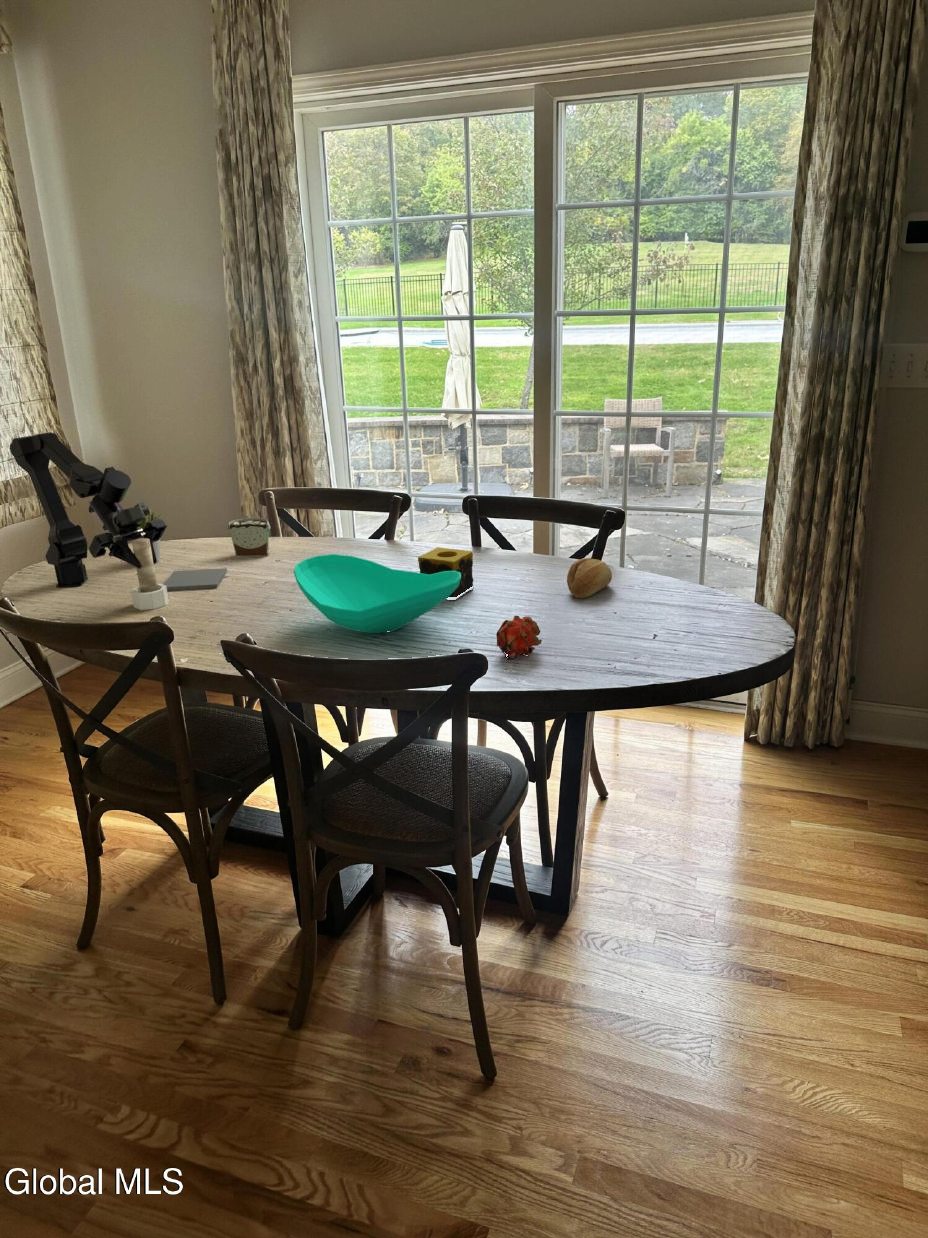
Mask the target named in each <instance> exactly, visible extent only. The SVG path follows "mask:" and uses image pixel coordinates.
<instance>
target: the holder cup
mask: <svg viewBox="0 0 928 1238" xmlns="http://www.w3.org/2000/svg"><path fill="white" fill-rule="evenodd" d="M163 584H164V583H160V582H159V583H157V588H158V590H157V591H154V592H148V593H141V592H140V586H135V587H133V589H132V590H131V591H130V594H131V598H132V600H131V601H132V605H133V608H135V609H137V610H140V611H143V610H146V611H147V610H155V609H159V608H161V607H162V608H163V607H164V606H165V607H166V606H167V605H168V603H169V602H170V601H169V594H168V591H167V587H166V585H163Z"/></svg>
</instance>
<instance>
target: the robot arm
mask: <svg viewBox="0 0 928 1238" xmlns="http://www.w3.org/2000/svg"><path fill="white" fill-rule="evenodd" d="M9 451H10V453H11V455H12V457H13V458H14V460H15V462H16V465H18V467H19V468H21V469H22V470H24V471H25V472H26V473H27V474H28V475H29V476H28V477H29V479H30V480H31V481H30V482H31V483H32V485H33V487H34V490H35V493H36V495H37V497H38V500H39V503H40V505H41V507H42V511H43V512H44V515H45V518H46V519H47V522H48V524H49V525H48V526H49V532H48V535H47V541H48V543H49V547H48V549H47V551H46V554H45V557H44V558H45V559H46V562H47V564H49V565H51V566H53V567H54V568H53V569H54V571H55V576H56V577H55V578H56V582H57V583H56V585H54V586H55V588H64V587H65V588H66V587H68V588H69V587H80V586H82V585H84V584H85V582H87V580H89V576H88V572H87V567H86V564H84V562H83V559H87V558H88V551H89V553H90V555H91V556H92V558H94V559H96V558H100V557H103V556H106V553H107V549H108V550H109V552H108V557H114V558H117V559H119V560H121V561H124V562H125V563H128V564H129V565H131V566H133V567H134V568H136V567H137V568H138V569H140V568H141V567H142V566H141V564H140V562H139V560H138V559H137V558H136V556H135V555H134V552H133V550H132V549H131V548H130V546H129V542H132V541H133V540H136V539H141V538H147V539H150V545H151V551H152V557H153V563H154V565H156V564H158V563H157V559H156V555H155V551H154V547H153V541H157V540H159V539H160V540H161V538H162V536H163V535H164V533H165V531H166V529H167V527H168V524H166V522H165V521H164V520H163V519H159V518H158V519H156V520H153V521H149V522H148V521H146V525H145V527H144V529H141V530H138V529H137V527H139V526H140V524H141V523H140V522H139V521H141V520H143V519H146V520H147V516H149V514H150V511H149V507H148V505H147V504H146V503H145V502H144V501H143V502H138V503H137V504H135V505H134V506H133V507H128V508H123V506H122V505H121V504H120V503H121V502H123V501H124V498H125V496H126V494H127V492H128V491H129V489H130V487H131V484H132V480H131V477H130V476H129V474H126V473H125V472H123V471H122V470H117V469H116V468H115V467H114V466H109V467H105V469H104V471H101V470H99V469H98V468H97V467H96V466H93V465H90V464H86V463H84V462H83V461H81V459H80V458H78V456H76V454H75V453H73V452H72V451H71V450H70V449H69V447H67V446H66V445H65V444H64V443H63V442H62V441H61V440H60V439H59V437H58V435H57V434H56V433H55V432H51V431H50V432H49V431H48V432H43V433H42V432H41V433H37V434H34V435H27V436H21V437H20V436H19V437H15V438H13V439H12V440H11V443H10V444H9ZM50 461H51V462H52V463H53V464H54V465H55V466H56V467H57V469H59V471H61V472H62V473H63V474H64V475H65V476H66V477H67V478H68V480H69V481H68V482H69V487H70V488H71V490H72V491H73V492H74V494H75V495H76V496H77V497H79V498H81V499H85V498H89V497H92V499H91V500H90V501H89V502H88V503H89V505H88V506H89V507H88V513H90V514H91V513H95V514H96V515H97V516H98V518H99V519H100V521H101V523H103V525H102V529H103V530H104V533H100V534H97V535H94V536H93V538H92V540H91V543H90V545H89V547H88V541H87V538H86V536H85V534H84V532H83V527H81V525H80V524H75V523H73V522H72V521H71V519H69V515H68V513H67V511H66V508H65V506H64V503H63V501H62V498H61V495H60V493H59V491H58V487H57V486H56V483H55V481H54V479H53V475H52V473H51V470H50V467H49V465H50ZM106 531H108V532H106ZM106 548H107V549H106Z"/></svg>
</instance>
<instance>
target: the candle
mask: <svg viewBox="0 0 928 1238" xmlns="http://www.w3.org/2000/svg"><path fill="white" fill-rule="evenodd" d="M473 557H474V554H473V551H471V550H465V549H458V548H457V549H455V548H446V547H445V548H444V547H439V546H438V547H435V548H434V549H432V550H430V551H428V552H426V553H423V554H422V555H419V556H418V557H417V562H418V569H419V573H423V574H428V575H430V574H434V573H439V572H444V571H457V572H460V573H461V580H460V583H459V586H458V587H457V588H456V589H455V590H454V592H453V593H452V594H451V595H450V596H449V597H457V596H458V595H460V594H461V593H463V592H465V591H466V590H467V589H469V588H470V587H472V586H473V587H474V577H473V576H474V575H473V565H474V558H473Z"/></svg>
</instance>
